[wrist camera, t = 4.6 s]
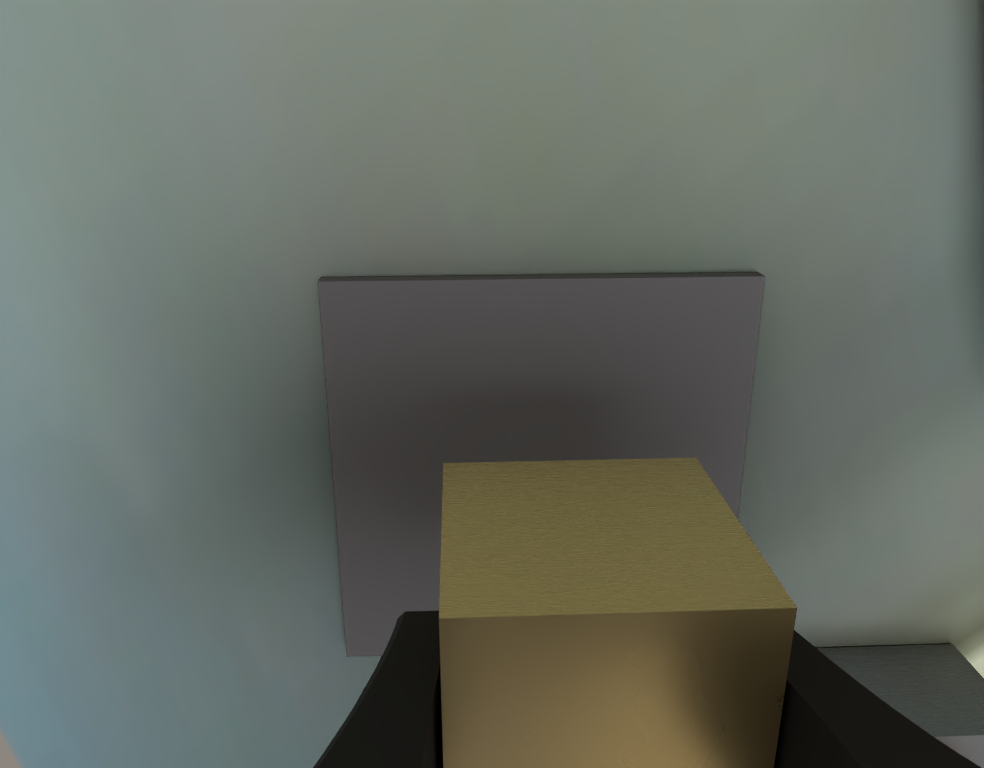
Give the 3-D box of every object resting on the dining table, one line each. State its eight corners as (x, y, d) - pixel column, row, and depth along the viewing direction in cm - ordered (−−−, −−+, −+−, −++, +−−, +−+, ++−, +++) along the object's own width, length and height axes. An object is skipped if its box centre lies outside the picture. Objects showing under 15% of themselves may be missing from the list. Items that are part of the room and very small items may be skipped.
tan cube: (696, 457, 13) (796, 607, 9) (675, 684, 14) (755, 894, 11) (443, 463, 13) (439, 617, 9) (449, 691, 14) (447, 908, 10)
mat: (717, 634, 20) (723, 644, 19) (348, 645, 19) (346, 656, 19) (758, 272, 17) (765, 276, 16) (320, 277, 16) (318, 281, 16)
